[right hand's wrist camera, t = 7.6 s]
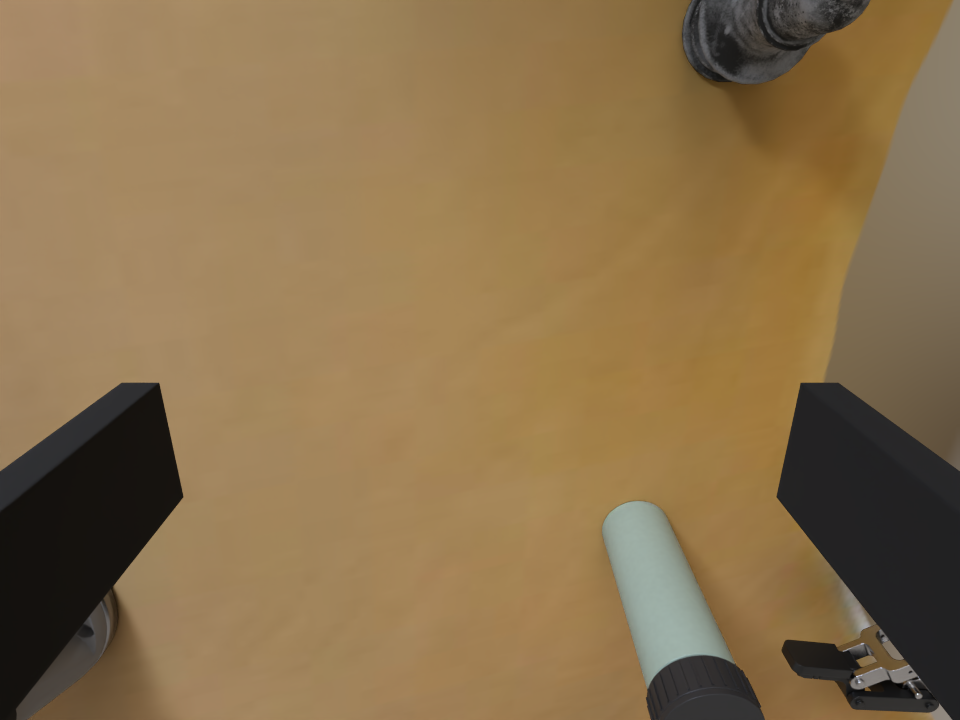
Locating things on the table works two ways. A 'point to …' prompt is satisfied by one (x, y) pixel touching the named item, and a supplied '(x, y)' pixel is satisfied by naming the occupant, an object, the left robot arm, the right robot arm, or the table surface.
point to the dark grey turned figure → (759, 35)
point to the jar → (658, 589)
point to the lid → (702, 691)
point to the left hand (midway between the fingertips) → (808, 607)
